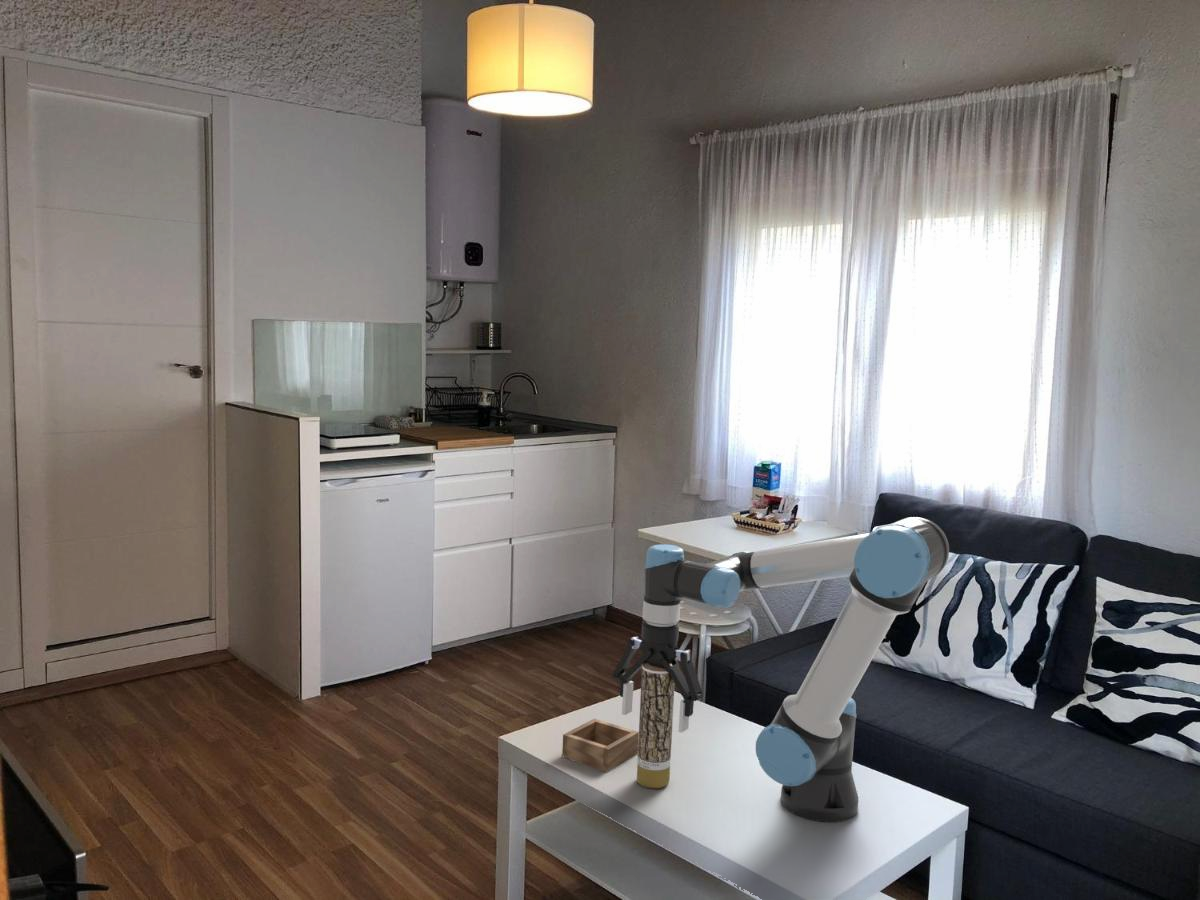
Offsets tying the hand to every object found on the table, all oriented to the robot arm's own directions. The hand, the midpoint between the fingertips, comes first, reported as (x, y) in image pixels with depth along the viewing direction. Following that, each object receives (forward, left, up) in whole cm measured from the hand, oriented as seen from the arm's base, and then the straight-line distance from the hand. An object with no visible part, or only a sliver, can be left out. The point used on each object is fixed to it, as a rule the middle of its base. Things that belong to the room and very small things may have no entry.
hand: (654, 721), depth 207 cm
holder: (+16, -4, -13) cm, 21 cm away
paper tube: (0, 0, -13) cm, 13 cm away
